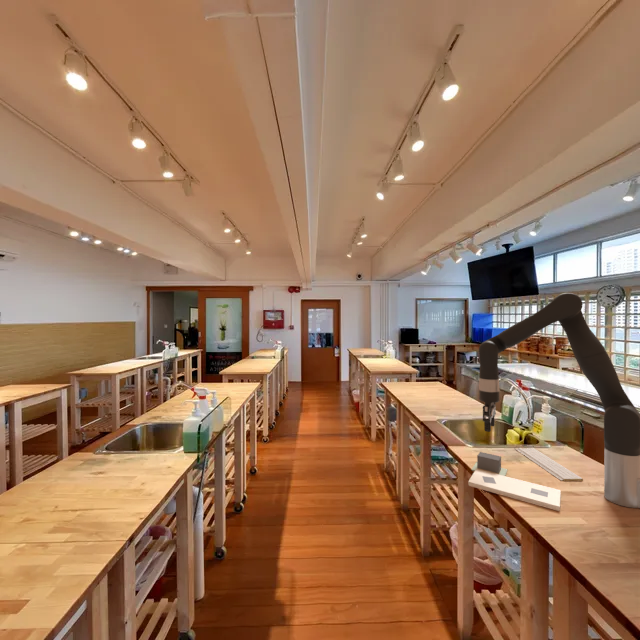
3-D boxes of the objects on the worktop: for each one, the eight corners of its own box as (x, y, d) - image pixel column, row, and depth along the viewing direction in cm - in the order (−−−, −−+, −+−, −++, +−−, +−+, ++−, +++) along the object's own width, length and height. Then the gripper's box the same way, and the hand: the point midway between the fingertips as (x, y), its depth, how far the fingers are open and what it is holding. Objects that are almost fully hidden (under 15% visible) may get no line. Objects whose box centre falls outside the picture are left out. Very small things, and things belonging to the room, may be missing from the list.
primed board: (560, 494, 119) (560, 490, 119) (559, 511, 109) (559, 506, 109) (476, 472, 136) (476, 468, 136) (468, 485, 126) (468, 481, 126)
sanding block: (501, 469, 138) (501, 456, 138) (498, 474, 134) (498, 460, 134) (480, 464, 143) (480, 451, 143) (477, 468, 139) (477, 455, 139)
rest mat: (507, 470, 138) (507, 469, 138) (504, 478, 131) (504, 477, 131) (476, 462, 145) (476, 461, 145) (471, 470, 138) (471, 469, 138)
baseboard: (557, 482, 129) (583, 482, 129) (557, 475, 129) (583, 475, 129) (512, 450, 159) (533, 451, 159) (512, 445, 159) (533, 445, 159)
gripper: (496, 393, 130) (496, 435, 130) (502, 387, 141) (502, 425, 141) (475, 391, 134) (476, 431, 134) (482, 385, 146) (483, 422, 146)
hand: (489, 428), depth 138 cm, fingers open, 8 cm apart
